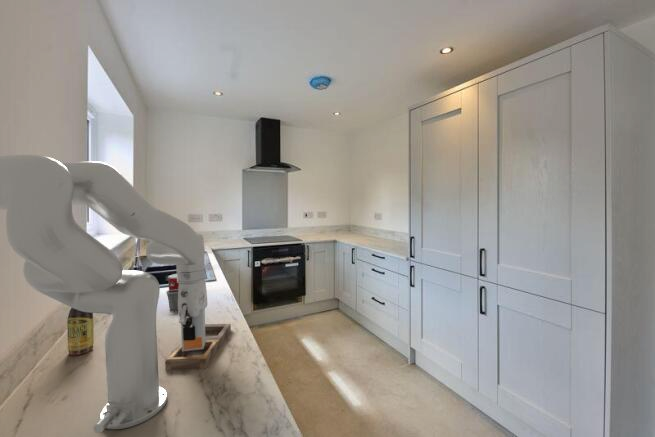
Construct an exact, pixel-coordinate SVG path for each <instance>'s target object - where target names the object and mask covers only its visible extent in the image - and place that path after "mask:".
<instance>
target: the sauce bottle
mask: <svg viewBox="0 0 655 437" xmlns="http://www.w3.org/2000/svg"><path fill="white" fill-rule="evenodd" d="M66 319H67V322H66V323H67V326H66V327H67V351H68V355H71V356H78V355H79V356H80V355H84V354H86V353H88V352H90V351H92V350H93V348H94V344H95V339H94V338H95V334H94V332H95V330H94V327H95V326H94V313H89V312H83V311H79V310H77V309H74V308H72V307H70V310H69V312H68V316H67V318H66Z"/></svg>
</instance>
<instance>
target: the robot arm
mask: <svg viewBox="0 0 655 437" xmlns="http://www.w3.org/2000/svg"><path fill="white" fill-rule="evenodd" d="M73 205H83V206H86V207H88V208H89V209H90V210H92V212H95V213H96V214H97V215H98V216H99V217H101V218H102V219H103V220H105V221H106V222H107V223H108V224H110V225H111V226H112V227H113V228H114V229H116V230H117V231H118V232H120V233H122V234H124V235H126V236H129V237H133V238H136V239H141V240H144V241H148V242H149V243H148V244H147V246H146V248H145V254H146V257H147V260H149V261H150V262H152V263H153V264H156V265H163V266H164V265H167V266H172V265H173V266H176V274H177V283H179V288H178V309H177V310H178V311H177V313H178V317H179V318H178V323H179V324H180V325H181V324H182V328H183V340H184V341H187V340H195V326H193V325H194V317H197V316H198V315H199V314H200V310H201V309H202V308H203V307H204V309H206V308H207V307H208V291H207V283H206V265H205V263H206V262H205V259H206V258H205V250H206V249H205V241H204V235H202V234H200V233H198V232H197V231H195V230H194V229H193V228H192V227H191V226H190V225H189V224H188V223H186V222H184V221H183V220H181V219H179V218H177V217H175V216H173V215H171V214H170V213H167V212H166V211H163V210H161V209H158V208H157V207H154V206H153V205H152V204H151V203H150V202H149V201H148V200H147V199H146V198H145V197H144V196H143V195H142V194H141V193H140V192H139V191H138V190H137V189H136V188H135V187H134V186H133V185H132V183H130V182H129V180H127V179H126V178H125V177H124V175H123V174H122V173H120V172H119V171H118V170H117V169H116V168H115V167H114V166H113V165H110V164H108V163H106V162H102V161H94V160H93V161H92V160H89V161H70V162H68V161H66V162H64V161H63V162H60V161H58V160H56V159H55V158H52V157H49V156H45V155H38V154H37V155H36V154H14V155H13V154H12V155H9V154H8V155H0V210H6V213H5V214H6V215H5V219H6V220H5V223H6V225H5V228H6V236H7V240H8V243H9V246H10V247H11V249H12V250H13V251H14V252H15V253H16V254H17V255H18V256H19V257H20V258H22V259H24V260H25V262H24V264H23V276H24V278H25V281H26V282H27V283H28V285H29V286H30V287H31V288H33V289H34V290H35V291H37V292H39V293H41V294H42V295H45V296H46V297H49V298H51V299H53V300H55V301H57V302H59V303H62V304H63V305H66V306H68V307H69V308H74V309H77V310H79V311H83V312H89V313H93V314H102V315H103V314H105V315H112V320H111V322H110V324H109V325H108V328H107V330H106V332H105V334H104V335H105V336H104V350H105V367H106V381H107V382H106V383H107V384H106V385H107V386H106V387H107V399H108V401H107V403H106V405H105V406H103V409H102V410H101V412H100V414H99V421H98V422H96V423H95V424H94V426H93V431H94V432H95V433H97V434H101V433H102V432H104V430H105V429H108V430H109V429H110V430H122V429H123V430H124V429H126V428H127V429H129V428H132V427H134V426H137V425H139V424H141V423H144V422H146V421H148V420H149V419H151V418H152V417H154V416H155V415H156V414H158V413H159V412H160V411H161V410H162V409H163V408H164V406H165V404H166V403H167V400H168V392H167V390H166V389H165V388H163V387H161V386H160V381H159V380H160V378H159V358H158V339H157V337H158V336H157V310H158V305H159V303H158V302H159V298H160V290H161V287H160V283H159V281H158V279H157V278H156V276H154V275H153V274H151V273H149V272H147V271H143V270H142V271H141V270H132V269H131V270H130V269H129V270H127V269H124V267H123V266H124V265H123V263H122V261H121V259H120V257H118V255H117V254H116V253H115V252H113V251H112V250H111V249H110V248H108V247H107V246H105V245H104V244H103V243H102V242H100V241H99V240H98V239H96V238H95V237H94V236H92V235H91V234H90V233H88V232H87V231H86V230H85V229H83V227H81V226H80V225H79V224H78V222H77V221H76V220H75V219H74V218H75V217H74V215H73ZM187 314H190V316H187ZM186 318H191V319H190V321H189V320H187V319H186Z"/></svg>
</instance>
